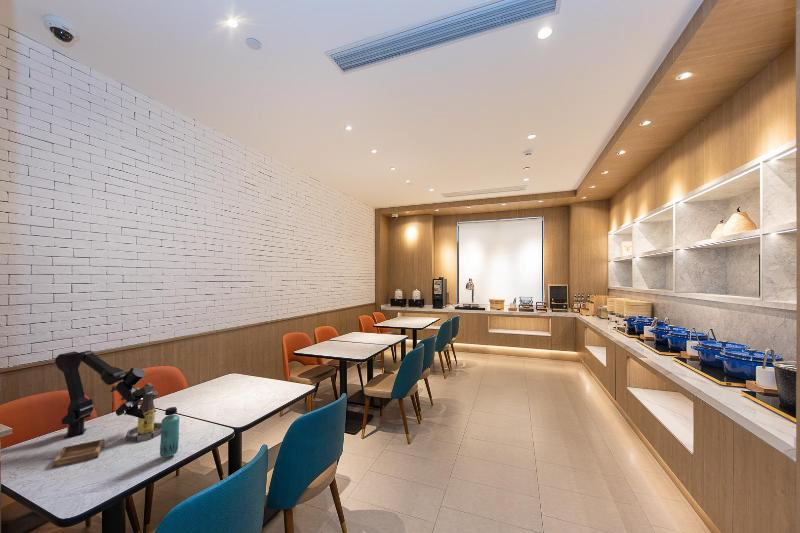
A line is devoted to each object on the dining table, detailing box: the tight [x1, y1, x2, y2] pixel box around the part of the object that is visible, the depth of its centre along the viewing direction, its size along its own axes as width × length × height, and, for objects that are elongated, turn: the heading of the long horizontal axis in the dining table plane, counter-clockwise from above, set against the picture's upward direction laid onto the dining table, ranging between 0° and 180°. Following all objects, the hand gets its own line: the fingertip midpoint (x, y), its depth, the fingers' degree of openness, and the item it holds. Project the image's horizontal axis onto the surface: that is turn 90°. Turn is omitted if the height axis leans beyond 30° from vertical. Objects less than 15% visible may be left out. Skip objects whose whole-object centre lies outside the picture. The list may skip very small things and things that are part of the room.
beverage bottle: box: [159, 406, 181, 458], centre depth 133 cm, size 6×7×20 cm
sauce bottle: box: [136, 390, 156, 436], centre depth 152 cm, size 6×6×20 cm
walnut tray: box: [52, 438, 105, 469], centre depth 133 cm, size 13×13×2 cm
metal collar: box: [125, 421, 162, 443], centre depth 152 cm, size 14×14×2 cm
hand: (149, 415), depth 152 cm, fingers closed on sauce bottle, 6 cm apart
